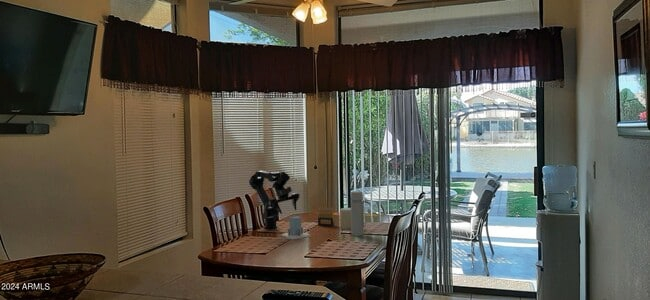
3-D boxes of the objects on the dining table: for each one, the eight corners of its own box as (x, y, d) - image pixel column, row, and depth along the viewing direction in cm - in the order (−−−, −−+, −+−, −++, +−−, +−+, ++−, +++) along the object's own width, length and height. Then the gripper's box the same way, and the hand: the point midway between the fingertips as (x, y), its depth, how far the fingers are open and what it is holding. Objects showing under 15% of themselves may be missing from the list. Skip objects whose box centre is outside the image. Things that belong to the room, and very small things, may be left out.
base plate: (281, 236, 280) (281, 228, 280) (299, 233, 287) (299, 225, 287) (291, 239, 270) (291, 231, 270) (309, 236, 277) (309, 228, 277)
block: (289, 234, 279) (289, 217, 279) (297, 233, 282) (296, 216, 282) (293, 235, 275) (293, 218, 275) (301, 234, 278) (301, 217, 278)
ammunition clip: (334, 225, 309) (333, 207, 309) (333, 226, 307) (332, 207, 307) (318, 224, 313) (318, 206, 312) (317, 225, 311) (317, 206, 311)
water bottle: (348, 235, 276) (347, 192, 275) (354, 233, 283) (353, 191, 282) (363, 237, 272) (362, 193, 271) (369, 234, 279) (368, 191, 278)
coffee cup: (358, 227, 300) (357, 208, 299) (348, 230, 293) (348, 210, 293) (346, 226, 306) (346, 207, 306) (337, 228, 299) (336, 209, 299)
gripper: (267, 186, 284) (276, 209, 277) (296, 179, 292) (305, 201, 284) (265, 195, 293) (273, 218, 286) (293, 189, 300) (302, 210, 293)
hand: (288, 211), depth 287 cm, fingers open, 9 cm apart
